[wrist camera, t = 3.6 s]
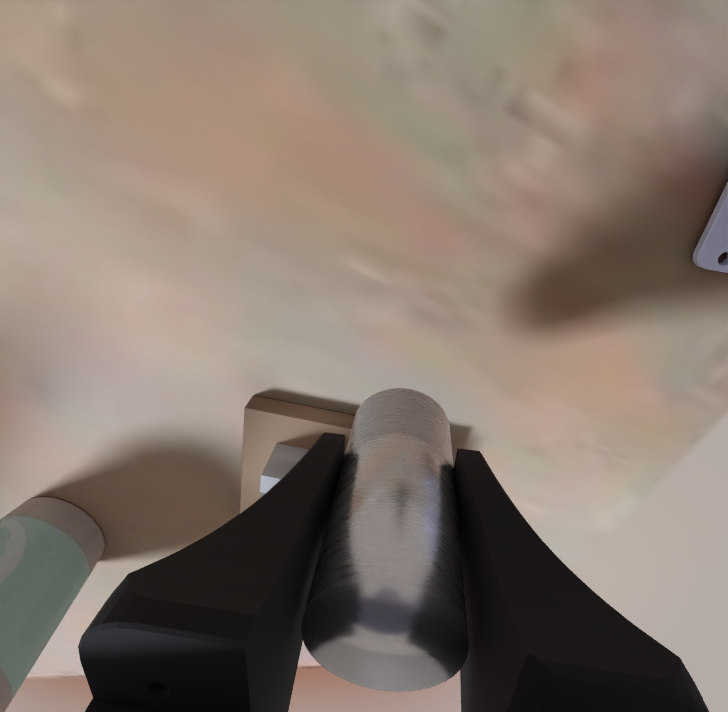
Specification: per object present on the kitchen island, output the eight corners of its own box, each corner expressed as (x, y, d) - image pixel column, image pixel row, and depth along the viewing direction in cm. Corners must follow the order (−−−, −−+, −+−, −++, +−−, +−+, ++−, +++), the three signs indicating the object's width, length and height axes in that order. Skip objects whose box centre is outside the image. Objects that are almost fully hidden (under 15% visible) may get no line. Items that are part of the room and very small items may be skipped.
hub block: (448, 434, 22) (453, 483, 19) (408, 570, 27) (407, 629, 23) (253, 395, 23) (224, 437, 19) (245, 536, 27) (221, 589, 24)
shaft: (460, 399, 14) (489, 606, 8) (437, 477, 15) (445, 705, 9) (360, 379, 14) (310, 566, 8) (346, 458, 16) (294, 671, 9)
